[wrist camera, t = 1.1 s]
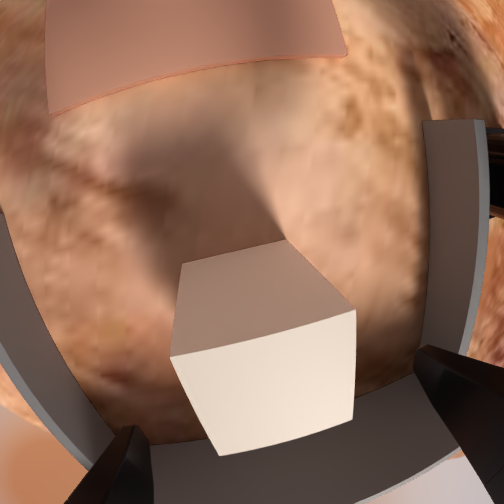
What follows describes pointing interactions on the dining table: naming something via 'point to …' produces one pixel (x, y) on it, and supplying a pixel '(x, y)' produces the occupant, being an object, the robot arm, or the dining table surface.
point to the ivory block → (263, 347)
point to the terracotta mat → (173, 40)
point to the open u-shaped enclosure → (320, 443)
